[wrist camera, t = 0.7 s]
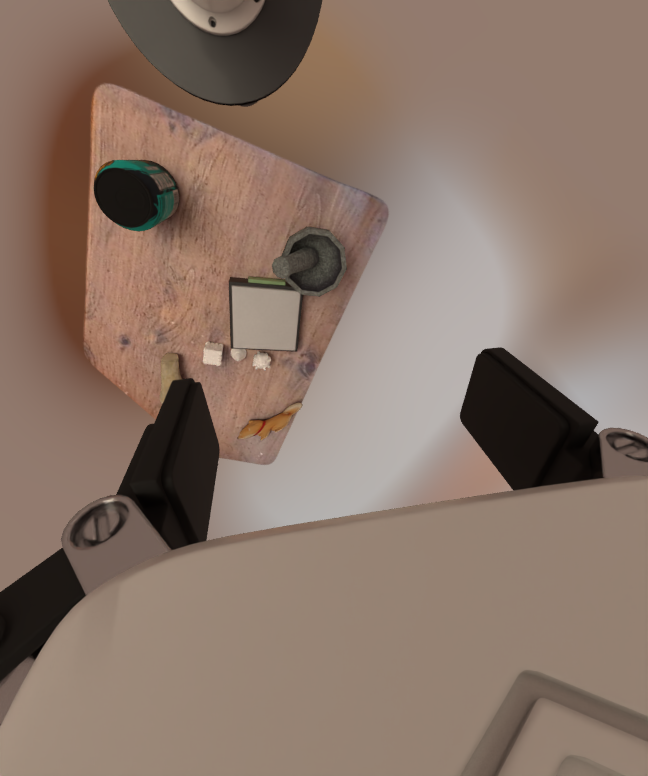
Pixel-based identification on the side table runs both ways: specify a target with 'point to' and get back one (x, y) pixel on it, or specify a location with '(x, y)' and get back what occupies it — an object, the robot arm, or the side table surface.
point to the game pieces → (215, 355)
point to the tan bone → (168, 373)
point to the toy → (269, 423)
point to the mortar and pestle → (312, 262)
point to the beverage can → (136, 193)
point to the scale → (264, 314)
